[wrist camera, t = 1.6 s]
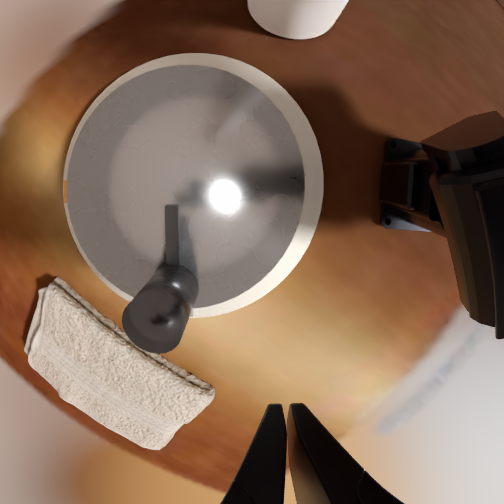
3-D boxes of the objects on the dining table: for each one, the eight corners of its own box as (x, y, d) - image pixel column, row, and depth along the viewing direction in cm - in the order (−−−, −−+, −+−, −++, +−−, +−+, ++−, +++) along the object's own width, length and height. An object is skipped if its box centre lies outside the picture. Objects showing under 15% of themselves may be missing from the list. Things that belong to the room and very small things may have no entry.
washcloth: (55, 266, 21) (35, 278, 18) (222, 382, 24) (220, 406, 21) (31, 347, 24) (16, 362, 21) (164, 438, 27) (159, 458, 24)
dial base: (320, 65, 17) (327, 56, 15) (306, 311, 22) (311, 323, 20) (79, 78, 16) (68, 72, 15) (85, 299, 21) (74, 308, 20)
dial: (83, 87, 15) (26, 65, 9) (303, 74, 16) (329, 31, 9) (87, 291, 19) (40, 333, 13) (292, 302, 20) (309, 359, 13)
